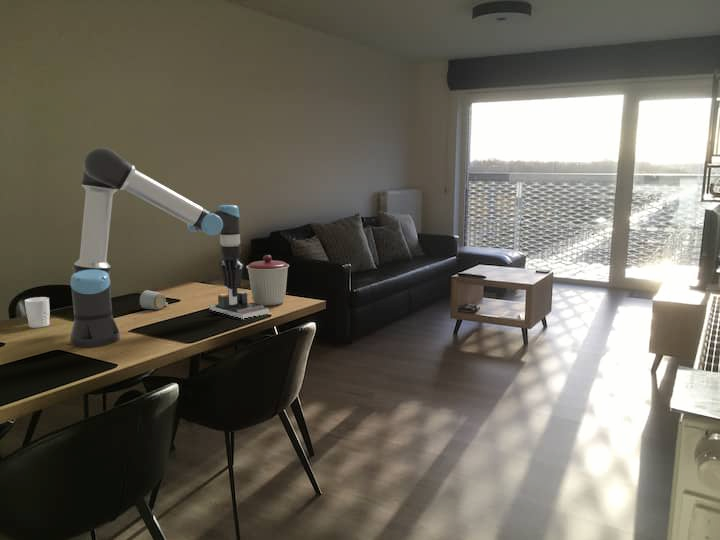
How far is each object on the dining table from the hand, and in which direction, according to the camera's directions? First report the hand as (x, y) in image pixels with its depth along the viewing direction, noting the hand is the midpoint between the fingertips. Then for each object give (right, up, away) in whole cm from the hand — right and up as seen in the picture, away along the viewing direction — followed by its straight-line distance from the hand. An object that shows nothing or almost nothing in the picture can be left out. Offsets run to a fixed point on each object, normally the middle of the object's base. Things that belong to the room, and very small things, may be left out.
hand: (233, 304), depth 224 cm
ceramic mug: (-35, -3, +13) cm, 38 cm away
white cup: (-69, -7, -13) cm, 71 cm away
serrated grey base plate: (+1, -3, +6) cm, 7 cm away
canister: (+11, -1, +21) cm, 24 cm away
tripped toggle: (-5, -1, +4) cm, 6 cm away
